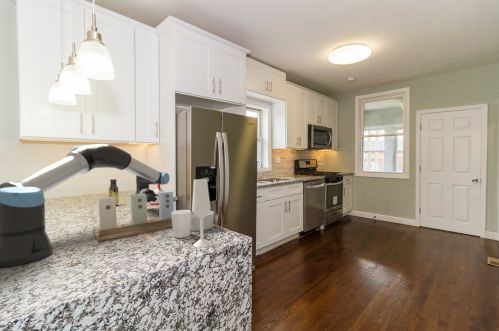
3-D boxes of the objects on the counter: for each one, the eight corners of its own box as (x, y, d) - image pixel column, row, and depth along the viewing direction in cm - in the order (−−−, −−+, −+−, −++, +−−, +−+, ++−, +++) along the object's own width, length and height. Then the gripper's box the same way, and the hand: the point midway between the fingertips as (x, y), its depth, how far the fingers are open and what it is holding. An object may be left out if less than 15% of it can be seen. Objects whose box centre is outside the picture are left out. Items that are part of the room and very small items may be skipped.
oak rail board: (93, 232, 107) (93, 223, 107) (172, 219, 130) (171, 211, 130) (98, 241, 95) (97, 231, 95) (184, 224, 117) (183, 216, 117)
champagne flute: (205, 239, 93) (203, 178, 93) (215, 244, 88) (213, 179, 88) (189, 244, 89) (187, 179, 88) (199, 248, 84) (197, 180, 83)
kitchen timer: (150, 206, 171) (150, 185, 171) (148, 203, 183) (147, 184, 183) (170, 204, 178) (170, 184, 178) (167, 201, 190) (166, 182, 190)
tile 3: (159, 219, 122) (158, 192, 121) (171, 217, 125) (170, 190, 125) (162, 220, 118) (161, 192, 118) (174, 218, 122) (173, 191, 122)
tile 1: (99, 229, 105) (98, 198, 105) (115, 227, 109) (113, 196, 109) (101, 231, 102) (99, 199, 102) (116, 228, 106) (115, 197, 106)
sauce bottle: (107, 206, 175) (106, 179, 174) (116, 205, 179) (116, 178, 179) (110, 207, 170) (109, 179, 170) (120, 205, 175) (119, 178, 174)
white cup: (195, 235, 100) (194, 211, 100) (178, 239, 94) (177, 214, 94) (185, 231, 105) (184, 209, 105) (168, 236, 100) (167, 212, 99)
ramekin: (179, 229, 109) (178, 214, 109) (200, 223, 120) (199, 209, 120) (200, 234, 102) (199, 217, 101) (220, 226, 112) (220, 211, 112)
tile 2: (131, 224, 113) (130, 194, 113) (144, 221, 117) (144, 193, 117) (133, 225, 110) (132, 195, 110) (147, 223, 114) (146, 194, 114)
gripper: (158, 200, 152) (172, 205, 133) (136, 202, 144) (147, 208, 125) (157, 188, 152) (171, 191, 133) (135, 190, 143) (147, 194, 125)
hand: (160, 199), depth 129 cm, fingers closed
